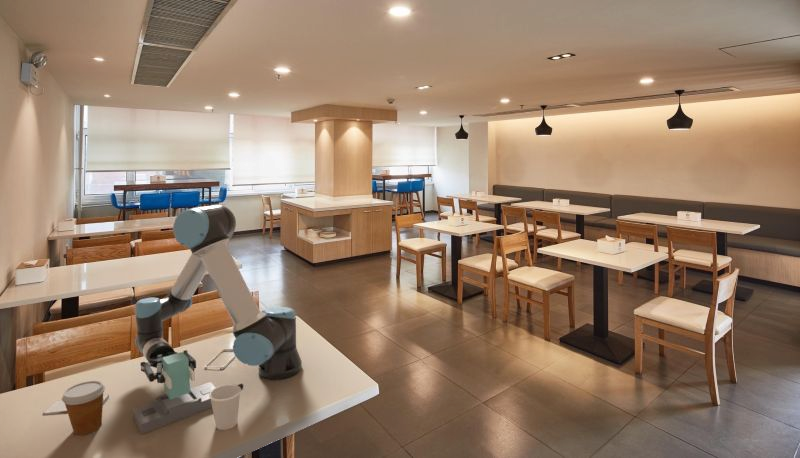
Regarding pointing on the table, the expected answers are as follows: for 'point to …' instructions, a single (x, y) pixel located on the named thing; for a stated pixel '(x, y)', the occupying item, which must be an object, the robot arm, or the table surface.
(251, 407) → the table surface
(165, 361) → the teal tall block
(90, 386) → the disposable coffee cup
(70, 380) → the table surface
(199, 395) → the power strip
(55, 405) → the smartphone
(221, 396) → the dixie cup
